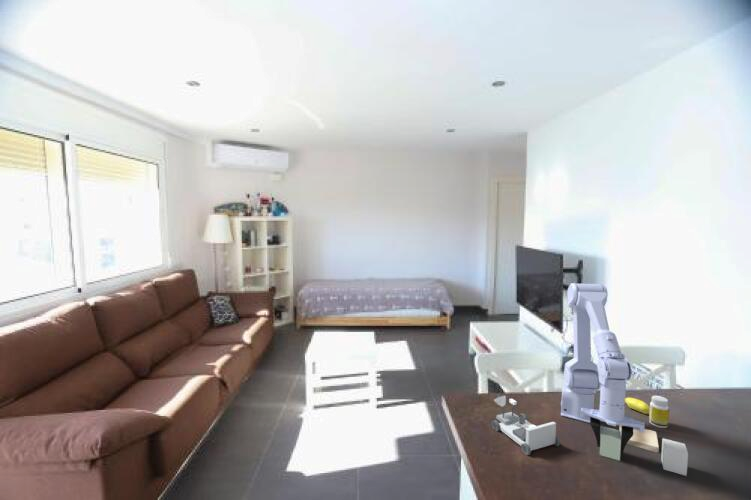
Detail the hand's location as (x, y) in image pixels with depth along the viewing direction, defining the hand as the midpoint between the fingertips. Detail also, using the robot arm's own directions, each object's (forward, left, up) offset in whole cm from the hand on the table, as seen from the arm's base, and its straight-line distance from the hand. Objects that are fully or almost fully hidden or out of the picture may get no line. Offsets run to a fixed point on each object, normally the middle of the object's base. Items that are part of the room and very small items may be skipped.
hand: (609, 448), depth 100 cm
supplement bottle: (+13, +25, -2) cm, 28 cm away
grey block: (+14, +2, -2) cm, 14 cm away
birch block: (+7, +12, -2) cm, 14 cm away
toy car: (-23, -3, -2) cm, 23 cm away
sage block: (0, 0, -1) cm, 1 cm away
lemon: (+8, +32, -2) cm, 33 cm away
